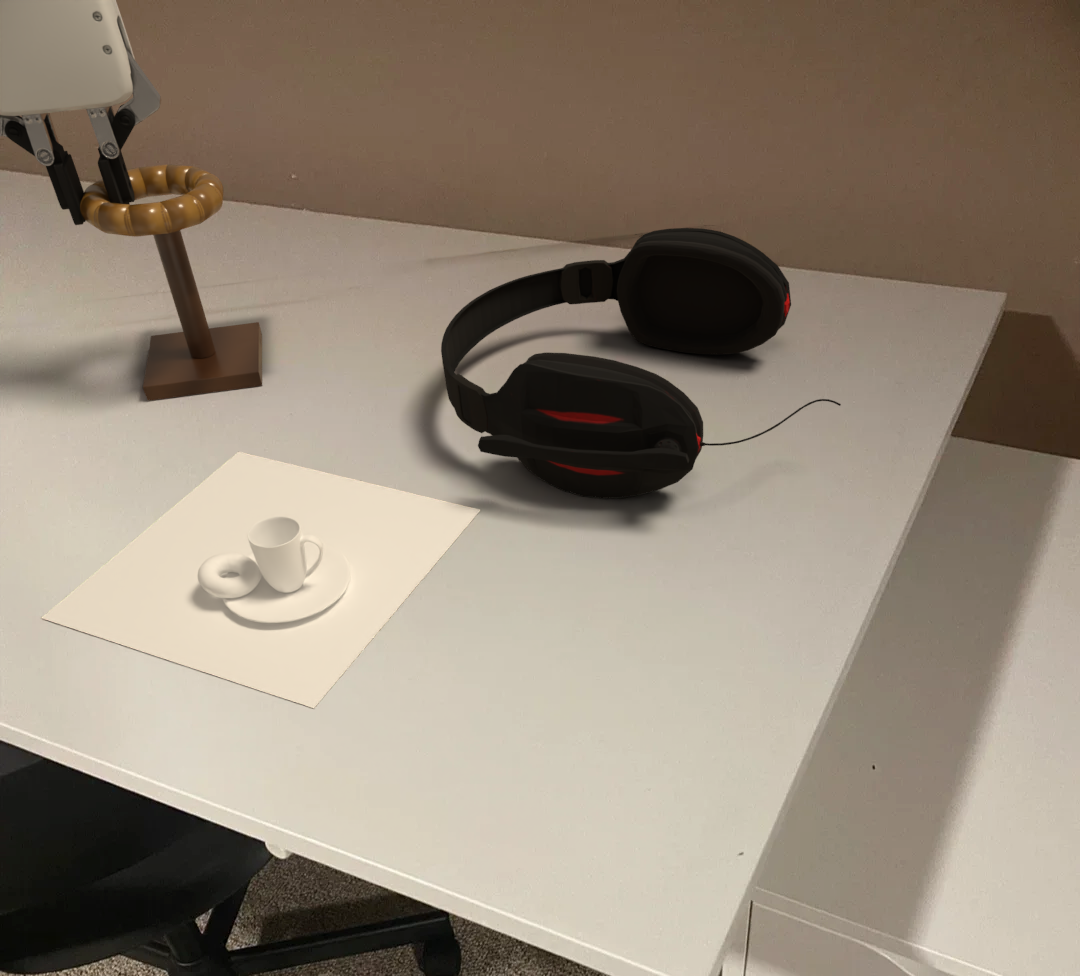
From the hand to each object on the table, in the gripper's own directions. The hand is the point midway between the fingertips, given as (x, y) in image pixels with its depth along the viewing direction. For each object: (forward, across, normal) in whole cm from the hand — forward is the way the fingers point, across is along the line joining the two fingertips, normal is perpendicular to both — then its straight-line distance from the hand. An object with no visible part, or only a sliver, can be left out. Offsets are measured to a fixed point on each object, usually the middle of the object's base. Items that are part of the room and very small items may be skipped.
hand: (102, 213), depth 74 cm
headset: (+13, -36, +17) cm, 42 cm away
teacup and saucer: (+13, -9, +28) cm, 32 cm away
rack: (+12, -4, 0) cm, 13 cm away
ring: (-1, -4, 0) cm, 4 cm away
